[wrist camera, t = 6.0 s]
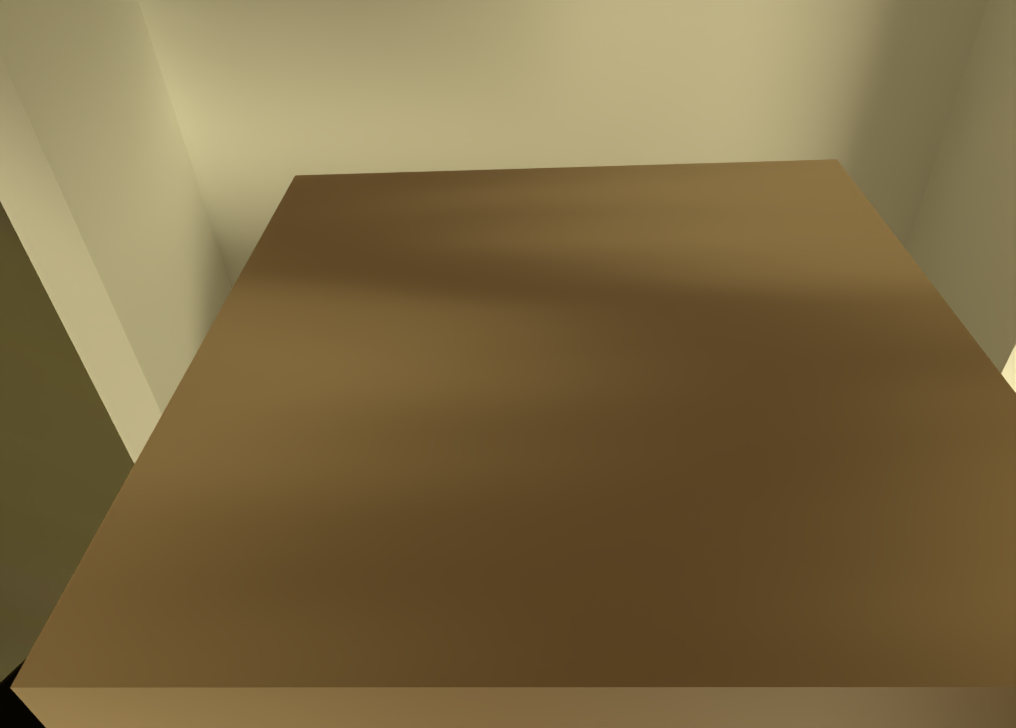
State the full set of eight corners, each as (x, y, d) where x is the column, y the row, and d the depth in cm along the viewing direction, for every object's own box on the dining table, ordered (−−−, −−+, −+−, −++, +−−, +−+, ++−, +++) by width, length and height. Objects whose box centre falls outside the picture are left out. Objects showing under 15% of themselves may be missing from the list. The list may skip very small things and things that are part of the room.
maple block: (375, 520, 10) (282, 989, 6) (294, 175, 7) (12, 687, 3) (749, 516, 10) (890, 1002, 6) (837, 158, 7) (1240, 688, 3)
